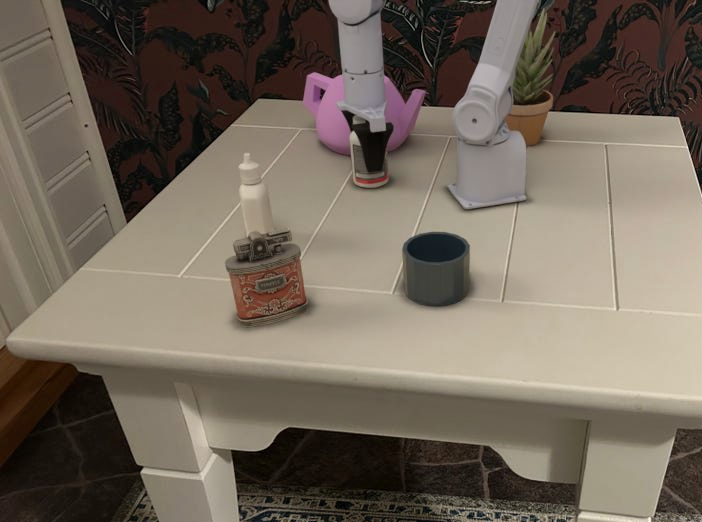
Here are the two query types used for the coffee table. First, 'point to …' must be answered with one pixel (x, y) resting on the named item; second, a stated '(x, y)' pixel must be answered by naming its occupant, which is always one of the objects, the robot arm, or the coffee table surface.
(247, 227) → the eye dropper bottle
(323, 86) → the teapot
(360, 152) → the pill bottle
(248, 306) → the lighter
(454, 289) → the tube
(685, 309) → the coffee table surface
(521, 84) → the potted plant
